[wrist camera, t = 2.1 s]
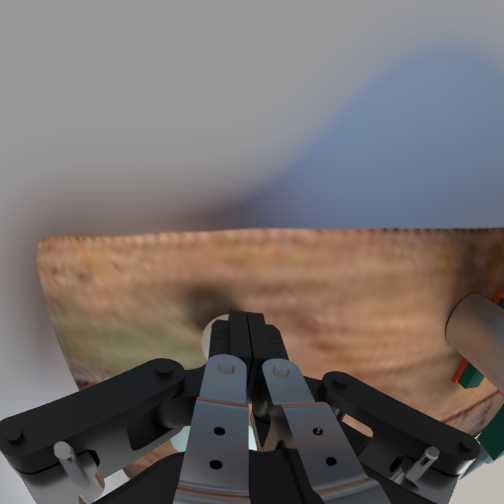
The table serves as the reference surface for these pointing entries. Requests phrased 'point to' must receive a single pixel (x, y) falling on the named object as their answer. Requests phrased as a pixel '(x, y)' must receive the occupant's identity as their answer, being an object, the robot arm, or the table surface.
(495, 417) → the power tool
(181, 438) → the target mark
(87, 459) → the robot arm
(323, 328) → the table surface
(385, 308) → the table surface
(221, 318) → the cue ball
